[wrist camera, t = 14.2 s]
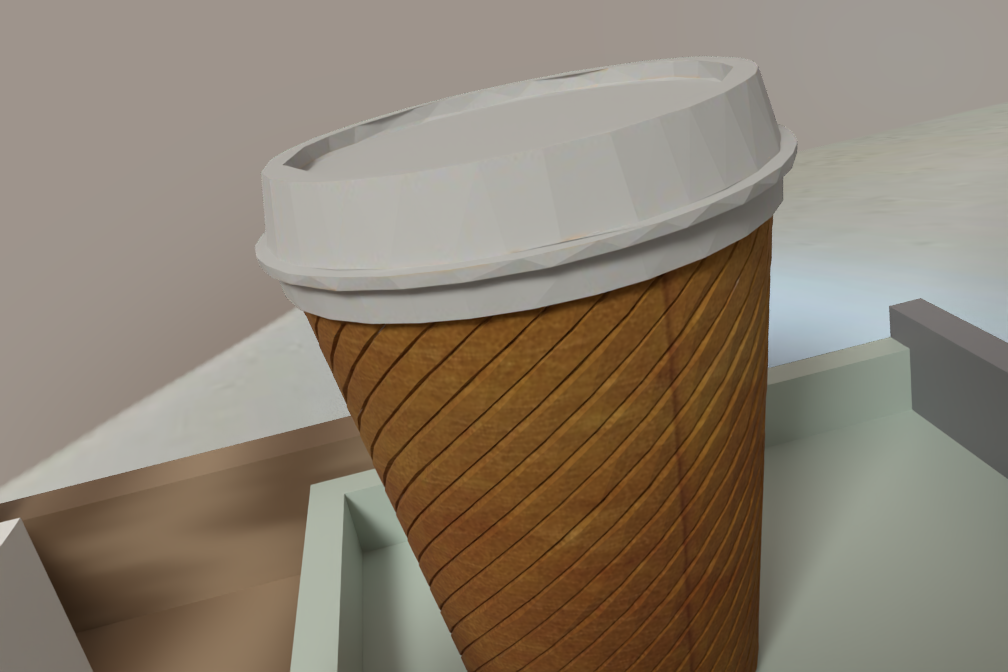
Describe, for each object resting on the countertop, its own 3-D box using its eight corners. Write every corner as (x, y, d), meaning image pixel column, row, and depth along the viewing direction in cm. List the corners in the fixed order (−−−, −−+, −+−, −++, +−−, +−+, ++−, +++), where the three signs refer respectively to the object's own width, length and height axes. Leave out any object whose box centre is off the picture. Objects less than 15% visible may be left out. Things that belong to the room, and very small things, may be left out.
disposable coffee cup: (423, 557, 25) (301, 125, 20) (770, 498, 24) (719, 36, 20) (375, 879, 16) (139, 237, 12) (922, 803, 15) (889, 84, 11)
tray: (924, 413, 28) (920, 298, 27) (1441, 783, 15) (1489, 591, 13) (337, 567, 27) (300, 454, 25) (312, 1125, 13) (230, 953, 12)
